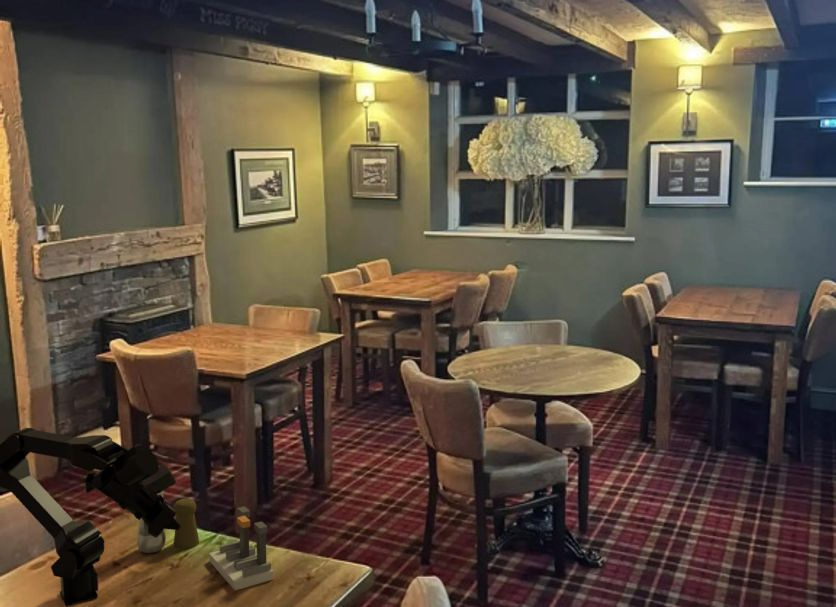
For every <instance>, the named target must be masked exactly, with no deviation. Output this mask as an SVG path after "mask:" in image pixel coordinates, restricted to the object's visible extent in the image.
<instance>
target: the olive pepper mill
mask: <svg viewBox="0 0 836 607" xmlns="http://www.w3.org/2000/svg"><path fill="white" fill-rule="evenodd" d="M173 509H174V511H175V512H176V514H175V517H176V518H175V520H176V521H177V522H178V523H179V524H180V526H181V527H180V528H179V529H178V530H174V538H173V547H174V548H175V549H178V550H188V549H192V548H195V547H198V546H199V544H200V539H199V538H200V537H199V532H198V527H197V522H196V516H195V513H196V511H197V504H196V502H195V500H194V499H192V498H182V499H179V500H177V501H175V503H174V505H173Z"/></svg>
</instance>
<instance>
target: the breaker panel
mask: <svg viewBox="0 0 836 607" xmlns="http://www.w3.org/2000/svg"><path fill="white" fill-rule="evenodd" d="M208 557H209V562H210V564H211V565H212V566H213V567H214V568H215V570H216V571H218V573H219V574H220V575H221V576H222V577H223V578H224V580H225V581H226V582H227V583H228V584H229V586H230V587H231V588H232V589H233V590H234V591H238V589H239V590H242V589H244V588H248V587H252V586H256V585H260V584H263V583H267V582H268V581H269V582H270V581H273V580H274V579H275V576H274V575H275V573H274V572H275V570H273V568H272V563H271V562H266V563H265V564H261V565H257V552H256V547H255V546H253V545H249V557H246V558H242V559H241V558H240V540H236V541H233V542H229V543H226V544H221V545H219V550H217V551H212V552H208Z"/></svg>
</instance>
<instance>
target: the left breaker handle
mask: <svg viewBox="0 0 836 607" xmlns="http://www.w3.org/2000/svg"><path fill="white" fill-rule="evenodd" d="M237 515H238V517H241V516H246V517H247V518H248V519H249V518H251V511H250V509H249V508H248V507H246V506H241V507H237ZM248 528H250V527H248Z"/></svg>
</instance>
